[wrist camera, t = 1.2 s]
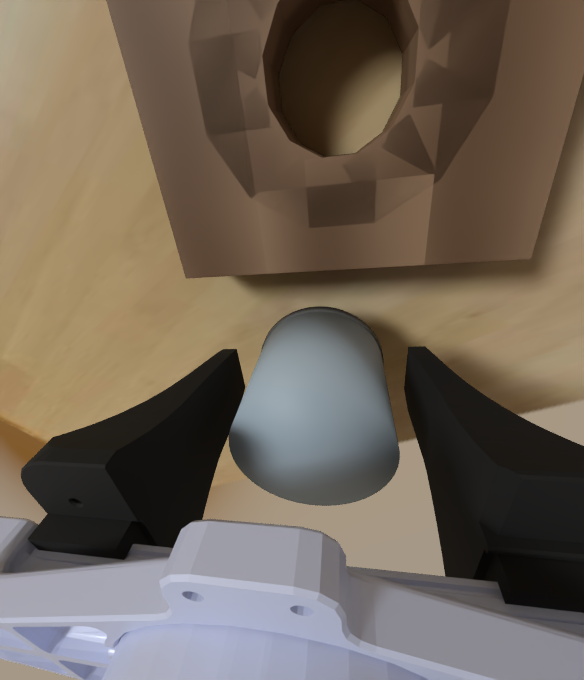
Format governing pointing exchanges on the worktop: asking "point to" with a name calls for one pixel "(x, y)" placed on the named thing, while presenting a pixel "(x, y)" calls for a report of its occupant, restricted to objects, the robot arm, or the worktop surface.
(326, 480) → the peg
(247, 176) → the board
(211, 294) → the worktop surface
